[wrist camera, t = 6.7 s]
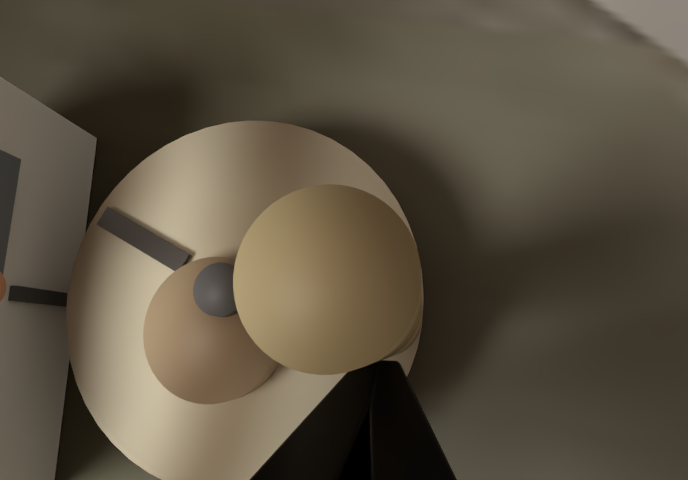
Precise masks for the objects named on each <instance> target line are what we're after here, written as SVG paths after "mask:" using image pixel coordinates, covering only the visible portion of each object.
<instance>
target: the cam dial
mask: <svg viewBox="0 0 688 480" xmlns="http://www.w3.org/2000/svg"><path fill="white" fill-rule="evenodd" d="M423 300H424V296H423V281H422V269H421V263H420V259H419V254H418V250H417V245H416V243H415V240H414V237H413V234H412V231H411V228H410V225H409V223H408V221H407V219H406V217H405V215H404V213H403V211H402V209H401V207H400V205H399V203H398V201H397V200H396V198H395V197H394V195H393V194H392V193H391V191H390V190H389V188H388V187H387V185H386V184H385V183H384V181H383V180H382V179H381V178H380V177H379V176H378V175H377V174H376V173H375V172H374V171H373V169H372V168H371V167H370V166H369V165H368V164H366V163H365V162H364V161H363V160H362V159H360V158H359V157H358V156H357V155H356V154H354V153H353V152H352V151H350V150H349V149H347V148H346V147H344V146H342V145H341V144H339V143H337V142H336V141H334V140H333V139H330V138H328V137H326V136H324V135H321V134H319V133H317V132H315V131H312V130H309V129H306V128H302V127H299V126H295V125H292V124H286V123H279V122H272V121H241V122H231V123H224V124H220V125H216V126H212V127H207V128H204V129H201V130H198V131H196V132H193V133H190V134H188V135H185V136H183V137H181V138H179V139H177V140H175V141H173V142H171V143H169V144H167V145H165V146H164V147H162V148H161V149H159V150H158V151H156V152H155V153H153V154H152V155H150V156H149V157H147V158H146V159H145V160H143V161H142V162H141V163H140V164H139V165H137V166H136V167H135V168H134V169H133V170H132V171H130V172H129V173H128V174H127V175H126V177H125V178H124V179H123V180H122V181H121V182H120V183H119V184H118V185H117V186H116V187H115V188H114V189H113V191H112V192H111V193H110V195H109V196H108V197H107V199H106V200H105V201H104V203H103V204H102V205H101V207H100V208H99V210H98V212H97V213H96V215H95V217H94V218H93V220H92V222H91V223H90V225H89V227H88V229H87V231H86V234H85V236H84V238H83V240H82V242H81V244H80V247H79V250H78V253H77V256H76V259H75V262H74V265H73V268H72V273H71V278H70V283H69V287H68V294H67V306H66V338H67V344H68V351H69V358H70V362H71V366H72V369H73V373H74V377H75V380H76V383H77V386H78V388H79V390H80V393H81V395H82V397H83V400H84V402H85V405H86V406H87V408H88V410H89V411H90V413H91V415H92V416H93V418H94V420H95V421H96V423H97V425H98V426H99V427H100V428H101V430H102V431H103V432H104V433H105V435H106V436H107V437H108V438H109V440H110V441H111V442H112V443H113V444H114V445H115V446H116V447H117V448H118V449H119V450H120V451H121V452H122V453H123V454H124V455H125V456H126V457H127V458H128V459H130V460H131V461H132V462H134V463H135V464H137V465H138V466H140V467H141V468H142V469H144V470H145V471H147V472H148V473H150V474H152V475H154V476H156V477H158V478H160V479H162V480H250V478H251V477H252V476H253V475H254V474H255V473H256V472H257V471H258V470H259V469H260V467H261V466H262V465H263V464H264V463H265V462H266V461H267V460H268V459H269V458H270V456H271V455H272V454H273V453H274V452H275V451H276V450H277V449H278V448H279V447H280V445H281V444H282V443H283V442H284V441H285V440H286V439H287V438H288V437H289V436H290V434H291V433H292V432H293V431H294V430H295V429H296V428H297V427H298V426H299V425H300V423H301V422H302V421H303V420H304V419H305V418H306V417H307V416H308V415H309V414H310V412H311V411H312V410H313V409H314V408H315V407H316V406H317V405H318V404H319V403H320V402H321V400H322V399H323V398H324V397H325V396H326V395H327V394H328V393H329V392H330V391H331V389H332V388H333V387H334V386H335V385H336V384H337V383H338V382H339V381H340V380H341V378H342V377H343V376H344V375H345V374H346V373H347V372H349V371H353V370H356V369H359V368H362V367H364V366H367V365H370V364H373V363H375V362H378V361H381V360H390V361H398V362H399V363H400V364H401V366H402V368H403V370H404V372H405V374H406V376H408V374H409V371H410V369H411V366H412V363H413V360H414V357H415V354H416V351H417V349H418V344H419V339H420V333H421V328H422V318H423Z"/></svg>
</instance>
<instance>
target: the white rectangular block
mask: <svg viewBox="0 0 688 480" xmlns="http://www.w3.org/2000/svg"><path fill="white" fill-rule="evenodd" d="M96 142H97V138H96V137H94V136H93V135H91V134H89V133H88V132H86V131H85V130H83V129H82V128H80V127H78V126H77V125H75V124H74V123H72V122H71V121H69V120H67V119H66V118H64V117H63V116H61V115H60V114H58V113H56V112H55V111H53V110H52V109H50V108H48V107H47V106H45V105H44V104H42V103H41V102H39V101H37V100H36V99H34V98H33V97H31V96H30V95H28V94H26V93H25V92H23V91H22V90H20V89H19V88H17V87H15V86H14V85H12V84H11V83H9V82H8V81H6V80H4V79H3V78H1V77H0V480H55V472H56V464H57V456H58V448H59V440H60V432H61V424H62V416H63V408H64V400H65V392H66V384H67V376H68V368H69V360H70V358H69V351H68V344H67V338H66V306H67V294H68V287H69V283H70V278H71V273H72V268H73V265H74V262H75V259H76V256H77V253H78V250H79V247H80V244H81V242H82V240H83V238H84V236H85V231H86V223H87V215H88V207H89V199H90V191H91V183H92V174H93V166H94V158H95V150H96Z"/></svg>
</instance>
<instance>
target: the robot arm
mask: <svg viewBox="0 0 688 480" xmlns="http://www.w3.org/2000/svg"><path fill="white" fill-rule="evenodd" d="M250 480H457V479H456V477H455V475H454V473H453V471H452V469H451V467H450V465H449V463H448V461H447V459H446V457H445V455H444V453H443V450H442V448H441V446H440V444H439V442H438V440H437V438H436V436H435V434H434V432H433V430H432V428H431V426H430V424H429V422H428V420H427V417H426V415H425V413H424V411H423V409H422V407H421V405H420V403H419V401H418V399H417V397H416V395H415V393H414V391H413V389H412V387H411V384H410V382H409V380H408V378H407V376H406V374H405V372H404V370H403V368H402V366H401V364H400V363H399V362H398V361H390V360H381V361H378V362H375V363H373V364H370V365H367V366H364V367H362V368H359V369H356V370H353V371H349V372H347V373H346V374H345V375H344V376H343V377H342V378H341V380H340V381H339V382H338V383H337V384H336V385H335V386H334V387H333V388H332V389H331V391H330V392H329V393H328V394H327V395H326V396H325V397H324V398H323V399H322V400H321V402H320V403H319V404H318V405H317V406H316V407H315V408H314V409H313V410H312V411H311V412H310V414H309V415H308V416H307V417H306V418H305V419H304V420H303V421H302V422H301V423H300V425H299V426H298V427H297V428H296V429H295V430H294V431H293V432H292V433H291V434H290V436H289V437H288V438H287V439H286V440H285V441H284V442H283V443H282V444H281V445H280V447H279V448H278V449H277V450H276V451H275V452H274V453H273V454H272V455H271V456H270V458H269V459H268V460H267V461H266V462H265V463H264V464H263V465H262V466H261V467H260V469H259V470H258V471H257V472H256V473H255V474H254V475H253V476H252V477H251V478H250Z"/></svg>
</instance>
